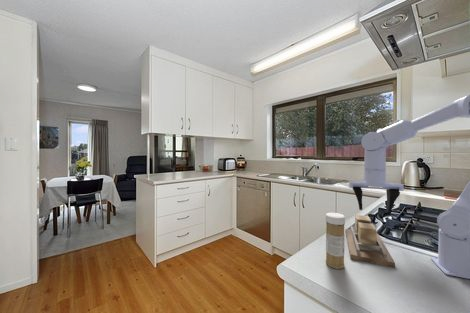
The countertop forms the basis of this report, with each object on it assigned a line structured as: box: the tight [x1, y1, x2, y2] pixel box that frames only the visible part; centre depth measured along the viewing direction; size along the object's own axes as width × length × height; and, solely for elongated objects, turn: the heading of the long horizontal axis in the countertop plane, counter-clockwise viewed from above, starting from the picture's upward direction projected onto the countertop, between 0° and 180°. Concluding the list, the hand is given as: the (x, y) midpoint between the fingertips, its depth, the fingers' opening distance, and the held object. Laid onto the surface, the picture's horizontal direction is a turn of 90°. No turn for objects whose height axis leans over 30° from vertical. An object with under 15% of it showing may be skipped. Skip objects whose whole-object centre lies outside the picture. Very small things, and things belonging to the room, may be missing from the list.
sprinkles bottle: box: [325, 212, 346, 270], centre depth 53 cm, size 5×5×13 cm
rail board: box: [344, 214, 396, 268], centre depth 63 cm, size 10×20×7 cm, turn 155°
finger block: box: [358, 222, 377, 246], centre depth 61 cm, size 4×6×6 cm
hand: (374, 210), depth 66 cm, fingers open, 7 cm apart
